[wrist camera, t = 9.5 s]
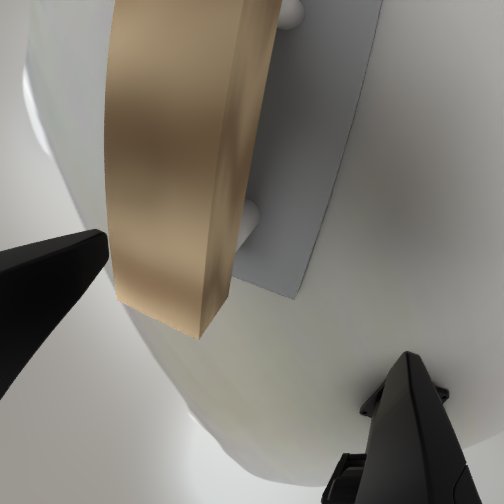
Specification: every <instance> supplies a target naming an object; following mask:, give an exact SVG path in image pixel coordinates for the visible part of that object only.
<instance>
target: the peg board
mask: <svg viewBox="0 0 504 504" xmlns="http://www.w3.org/2000/svg"><path fill="white" fill-rule="evenodd" d="M381 4H382V0H282V4H281V9H280V14H279V19H278V24H277V29H276V34H275V39H274V44H273V49H272V54H271V59H270V65H269V70H268V75H267V80H266V85H265V90H264V96H263V101H262V106H261V112H260V117H259V122H258V128H257V133H256V139H255V144H254V149H253V155H252V160H251V166H250V172H249V177H248V183H247V188H246V194H245V200H244V205H243V211H242V217H241V223H240V228H239V234H238V240H237V246H236V252H235V258H234V264H233V270H232V276H233V277H236V278H238V279H241V280H243V281H246V282H248V283H251V284H254V285H256V286H259V287H261V288H264V289H267V290H269V291H272V292H275V293H277V294H280V295H282V296H285V297H288V298H290V299H293V300H295V298H296V295H297V293H298V290H299V287H300V285H301V282H302V279H303V276H304V273H305V271H306V268H307V265H308V262H309V259H310V256H311V253H312V250H313V247H314V245H315V242H316V239H317V236H318V233H319V230H320V227H321V224H322V221H323V218H324V214H325V211H326V208H327V205H328V202H329V199H330V196H331V193H332V189H333V186H334V183H335V180H336V177H337V173H338V170H339V167H340V163H341V160H342V157H343V153H344V150H345V146H346V143H347V140H348V136H349V133H350V129H351V126H352V122H353V118H354V115H355V111H356V107H357V104H358V100H359V96H360V92H361V89H362V85H363V81H364V77H365V73H366V69H367V65H368V61H369V57H370V53H371V49H372V44H373V40H374V36H375V31H376V27H377V22H378V18H379V13H380V8H381Z"/></svg>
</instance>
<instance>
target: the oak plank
mask: <svg viewBox="0 0 504 504" xmlns="http://www.w3.org/2000/svg"><path fill="white" fill-rule="evenodd" d="M281 4H282V0H116V1H115V7H114V13H113V20H112V27H111V35H110V43H109V52H108V63H107V76H106V92H105V118H104V162H105V189H106V206H107V219H108V231H109V241H110V250H111V259H112V267H113V274H114V281H115V288H116V295H117V300H118V301H120V302H122V303H124V304H126V305H128V306H130V307H132V308H134V309H136V310H138V311H140V312H141V313H143V314H145V315H147V316H149V317H151V318H153V319H155V320H158V321H160V322H162V323H164V324H166V325H168V326H170V327H172V328H174V329H176V330H178V331H180V332H183V333H185V334H187V335H189V336H191V337H193V338H196V339H198V340H199V339H200V337H201V336H202V334H203V333H204V331H205V330H206V329H207V327H208V326H209V324H210V323H211V321H212V320H213V318H214V317H215V315H216V314H217V312H218V311H219V309H220V308H221V306H222V305H223V303H224V302H225V300H226V299H227V298H228V294H229V288H230V282H231V276H232V270H233V264H234V258H235V252H236V246H237V240H238V234H239V228H240V223H241V217H242V211H243V205H244V200H245V194H246V188H247V183H248V177H249V172H250V166H251V160H252V155H253V149H254V144H255V139H256V133H257V128H258V122H259V117H260V112H261V106H262V101H263V96H264V90H265V85H266V80H267V75H268V70H269V65H270V59H271V54H272V49H273V44H274V39H275V34H276V29H277V24H278V19H279V14H280V9H281Z"/></svg>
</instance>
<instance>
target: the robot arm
mask: <svg viewBox="0 0 504 504" xmlns="http://www.w3.org/2000/svg"><path fill="white" fill-rule="evenodd" d="M108 259H109V248H108V238H107V235H106V233H104V232H102V231H100V230H98V229H92V230H87V231H83V232H79V233H74V234H70V235H65V236H61V237H56V238H53V239H48V240H44V241H40V242H36V243H31V244H28V245H23V246H19V247H15V248H12V249H8V250H4V251H0V400H1V398H2V397H3V396H4V394H5V392H6V391H7V390H8V389H9V387H10V385H11V384H12V383H13V381H14V380H15V379H16V377H17V376H18V374H19V373H20V372H21V371H22V369H23V368H24V367H25V365H26V364H27V363H28V361H29V360H30V359H31V357H32V356H33V355H34V354H35V352H36V351H37V350H38V348H39V347H40V346H41V345H42V343H43V342H44V341H45V340H46V338H47V337H48V336H49V335H50V334H51V332H52V331H53V330H54V329H55V327H56V326H57V325H58V324H59V323H60V321H61V320H62V319H63V318H64V317H65V315H66V314H67V313H68V312H69V311H70V309H71V308H72V307H73V306H74V305H75V304H76V303H77V301H78V300H79V299H80V298H81V297H82V295H83V294H84V293H85V291H86V290H87V289H88V287H89V286H90V284H91V283H92V282H93V280H94V279H95V278H96V276H97V275H98V274H99V272H100V271H101V270H102V268H103V267H104V266H105V264H106V263H107V261H108ZM448 398H449V392H448V391H446V390H442V389H438V388H435V386H434V384H433V382H432V380H431V378H430V376H429V374H428V372H427V370H426V368H425V366H424V363H423V361H422V359H421V357H420V356H419V355H418V354H415V353H412V352H409V351H405V352H404V353H403V354H402V355H401V356H400V357H399V359H398V360H397V361H396V363H395V364H394V365H393V367H392V368H391V369H390V371H389V373H388V376H387V379H386V381H385V382H384V383H383V384H382V385H381V387H380V388H379V389H378V390H377V391H376V392H375V393H374V394H373V396H372V397H371V398H370V399H369V400H368V401H367V402H366V403H365V404H364V405H363V406H362V407H361V409H360V414H361V415H364V416H367V417H371V418H372V419H371V425H370V431H369V436H368V442H367V447H366V452H365V454H350V453H343V454H342V457H341V459H340V461H339V462H338V464H337V466H336V468H335V471H334V473H333V475H332V477H331V479H330V481H329V483H328V485H327V487H326V489H325V491H324V493H323V495H322V499H321V503H322V504H482V502H481V499H480V497H479V495H478V492H477V489H476V487H475V484H474V481H473V479H472V476H471V473H470V470H469V468H468V465H466V460H465V457H464V455H463V452H462V449H461V447H460V444H459V442H458V439H457V437H456V434H455V432H454V429H453V427H452V425H451V422H450V420H449V418H448V415H447V413H446V411H445V408H444V406H443V403H444V402H445V401H446V400H447V399H448Z"/></svg>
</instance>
